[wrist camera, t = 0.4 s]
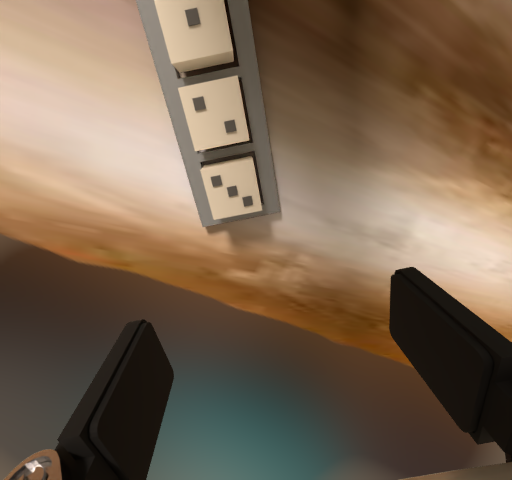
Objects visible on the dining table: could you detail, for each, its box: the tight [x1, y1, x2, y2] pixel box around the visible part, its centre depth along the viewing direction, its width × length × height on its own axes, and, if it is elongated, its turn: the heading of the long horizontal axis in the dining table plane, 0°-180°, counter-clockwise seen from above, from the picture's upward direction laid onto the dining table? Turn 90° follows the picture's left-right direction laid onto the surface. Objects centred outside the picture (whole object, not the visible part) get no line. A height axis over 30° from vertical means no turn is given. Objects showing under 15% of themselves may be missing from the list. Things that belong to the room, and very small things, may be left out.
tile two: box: [178, 75, 249, 151], centre depth 27 cm, size 6×6×4 cm
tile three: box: [200, 156, 262, 220], centre depth 31 cm, size 6×6×4 cm
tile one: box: [154, 0, 234, 73], centre depth 24 cm, size 6×6×4 cm
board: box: [136, 0, 280, 227], centre depth 30 cm, size 11×26×2 cm, turn 11°
